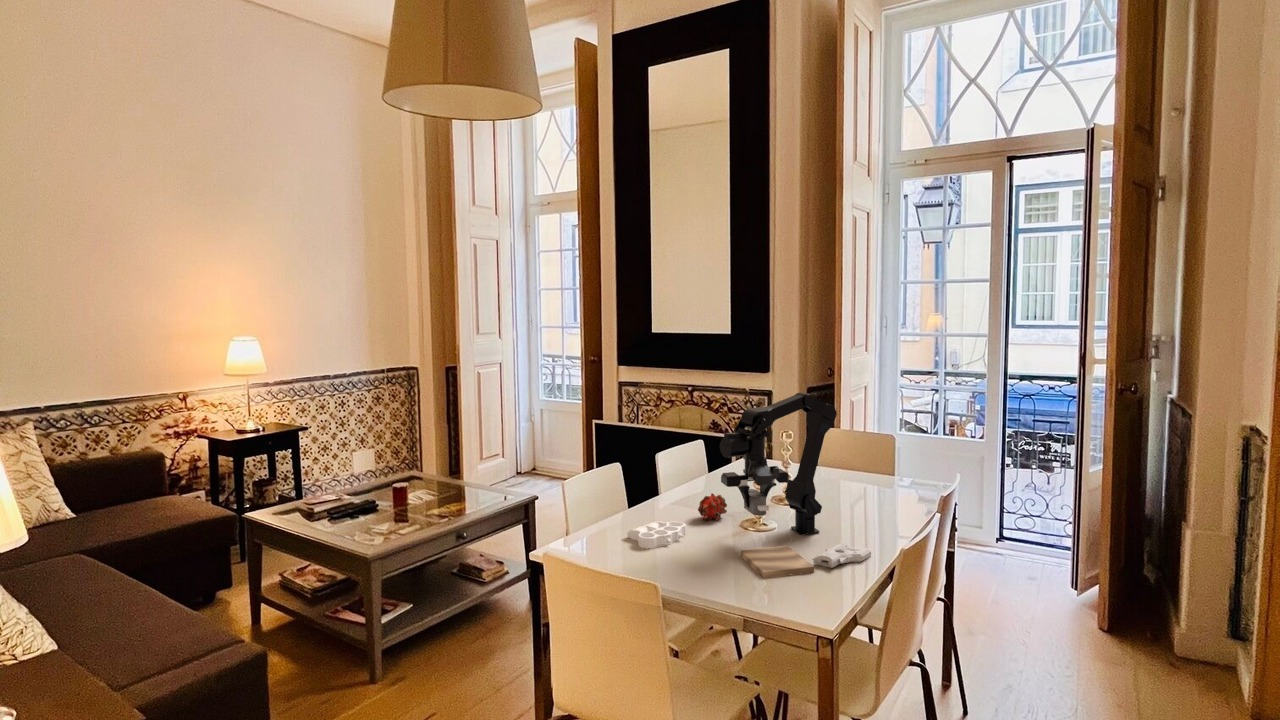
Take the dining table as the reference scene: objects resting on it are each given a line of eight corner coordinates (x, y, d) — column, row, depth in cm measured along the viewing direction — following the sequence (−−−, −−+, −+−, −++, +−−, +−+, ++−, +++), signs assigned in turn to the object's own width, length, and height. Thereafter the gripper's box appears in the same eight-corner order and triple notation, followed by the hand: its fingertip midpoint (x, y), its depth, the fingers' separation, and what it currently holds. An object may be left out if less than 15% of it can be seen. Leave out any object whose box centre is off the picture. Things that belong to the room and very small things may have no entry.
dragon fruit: (726, 518, 229) (704, 533, 221) (708, 500, 233) (685, 514, 225) (737, 501, 225) (715, 516, 216) (718, 483, 228) (695, 497, 220)
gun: (845, 561, 177) (809, 553, 184) (845, 575, 178) (809, 566, 184) (874, 545, 191) (839, 538, 198) (873, 557, 191) (839, 550, 198)
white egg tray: (660, 526, 219) (696, 537, 209) (619, 542, 206) (657, 553, 196) (659, 516, 219) (696, 526, 209) (619, 530, 206) (656, 541, 196)
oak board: (740, 555, 192) (740, 550, 192) (787, 550, 195) (787, 545, 195) (763, 577, 176) (763, 572, 176) (814, 572, 180) (814, 566, 179)
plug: (739, 504, 208) (739, 487, 208) (752, 503, 209) (752, 486, 208) (757, 518, 194) (757, 500, 194) (771, 517, 195) (771, 499, 195)
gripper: (733, 461, 190) (734, 518, 192) (797, 457, 194) (797, 512, 196) (720, 453, 201) (720, 506, 203) (780, 449, 205) (780, 501, 207)
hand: (754, 506), depth 202 cm, fingers closed on plug, 4 cm apart
